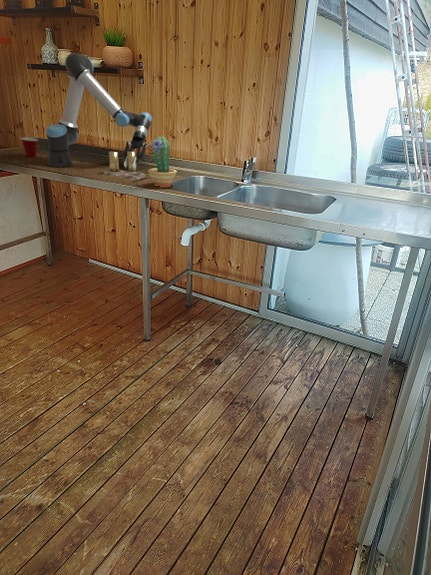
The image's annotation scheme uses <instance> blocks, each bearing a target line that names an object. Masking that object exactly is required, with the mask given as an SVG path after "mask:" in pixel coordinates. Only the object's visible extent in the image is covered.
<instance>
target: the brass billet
mask: <svg viewBox="0 0 431 575" xmlns="http://www.w3.org/2000/svg"><path fill="white" fill-rule="evenodd" d="M127 156H128V164H127V171H129V172H136V171H137V166H136V167H135V169H134V168H133V166H132V165H133V162H134V159H135V157H137V151H136V150H133V151H127Z"/></svg>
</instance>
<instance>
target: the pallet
mask: <svg viewBox="0 0 431 575" xmlns="http://www.w3.org/2000/svg"><path fill="white" fill-rule="evenodd" d="M100 175H102V176H106V177H112V178H120V179H125V180H132V183H136V182H140V181H143V180H144V181H145V180H147V179H149V176H148V175H146V174H145V173H140V172H135V171H131V172H126V171H125V170H121V169H119V172H117V173H114V172H110V169H108V170H103V173H102V174H100Z"/></svg>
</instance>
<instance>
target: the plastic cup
mask: <svg viewBox="0 0 431 575" xmlns="http://www.w3.org/2000/svg"><path fill="white" fill-rule="evenodd" d="M20 140H21V142H22V145H23V150H24V151H25V154H26V157H27V158H36V157H37V151H38V141H39V139H38V138H35V137H20Z"/></svg>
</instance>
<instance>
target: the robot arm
mask: <svg viewBox="0 0 431 575" xmlns="http://www.w3.org/2000/svg"><path fill="white" fill-rule="evenodd" d="M64 63H65V64H64V65H65V68H66V70H67V72H68V74H67V75H68V77H69V85H68V88H67V94H66V99H65V103H64V108H63V112H62V113H63V114H62V118H61V119H59V120H58V124H50V125H48V126H46V130H45V133H46V140H47V146H48V156H47V161H46V164H47V166H48V167H51V168H68V167H72V166H74V162H73V160H72V158H71V157H72V156H71V154H70V151H69V146H71V145H74V144H75V143H76V142H77V141H78V139H79V132H78V128H79V126H78V124H77V122H78V117H79V112H80V109H81V104H82V99H83V96H84V90H85V89H86V90H87V91H88V92H89V93H90V94H91V95H92V97H94V98H95V100H96V101H97V102H98V103H99V104H100V105H101V106H102V107H103V108H104V109H105V111H106V112H107V113H108V114H109V115H110V116H111V118H113V120H114V121H115V123H116V125H117V126H118V127H121V128H126V127H128V126H131V127H133V128H135V129H134V133H133V135H132V140H131V141H126V145H125V147H124V151H123V154H122V155H123V157H124V159H123V161H124V163H123V166H124V168H128V156H127V151H136V157H135V159H134V162H133V165H132V166H133V168H134V169H135V167H136V168H137V164H139V161H140V160H143V159H144V156H145V154H146V150H147V148H149V147H148V144H147V142H146V139H147V136H148V132H149V130H150V126H151V123H152V121H153V117H152V115H151V114H150V113H149V112H146V111H144V112H141V113H140V114H136V113H133V112H130V111H127V110H124V109H123V108H122V107H121V106H120V105H119V103H118V102H117V101H116V100H115V99H114V98H113V97H112V96H111V94H110V93H109V92H108V91H107V90H106V89H105V88H104V87H103V86H102V85H101V84H100V83H99V82H98V80H97V79H96V78H95V77H94V76H93V72H94V64H93V62H92V60H91V59H90V57H88V56H87V55H85V54H80V53H76V52H72V53H69V54H68V55H66V57H65V61H64ZM145 142H146V143H145Z"/></svg>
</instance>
